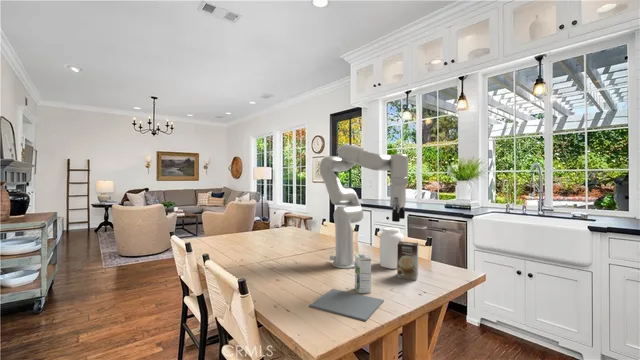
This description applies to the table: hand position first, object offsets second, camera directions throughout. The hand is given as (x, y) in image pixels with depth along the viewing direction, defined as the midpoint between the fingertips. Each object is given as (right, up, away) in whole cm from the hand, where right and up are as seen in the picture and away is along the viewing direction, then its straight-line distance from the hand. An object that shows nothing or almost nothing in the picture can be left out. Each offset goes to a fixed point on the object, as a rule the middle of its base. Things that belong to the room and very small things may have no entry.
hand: (398, 220), depth 132 cm
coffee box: (+6, -28, +7) cm, 30 cm away
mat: (-25, -28, -22) cm, 44 cm away
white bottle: (+3, -28, +25) cm, 38 cm away
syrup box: (-17, -28, -9) cm, 34 cm away
